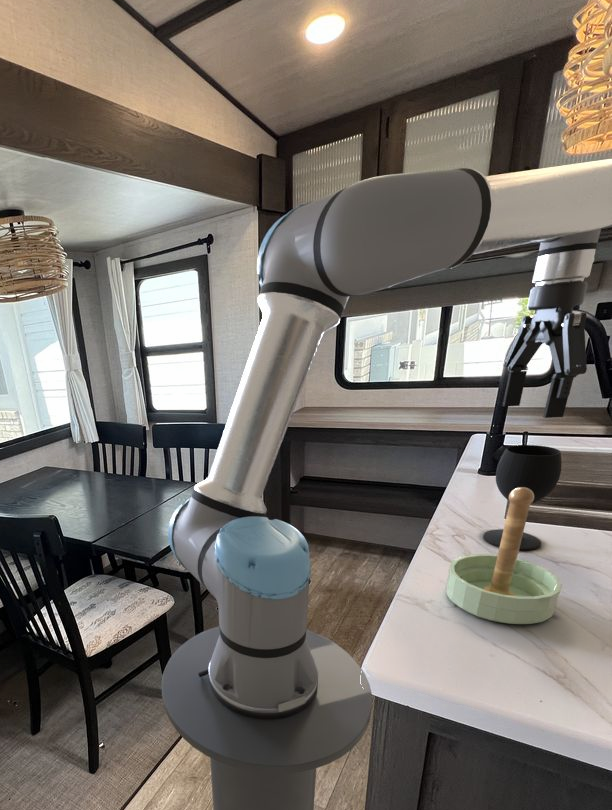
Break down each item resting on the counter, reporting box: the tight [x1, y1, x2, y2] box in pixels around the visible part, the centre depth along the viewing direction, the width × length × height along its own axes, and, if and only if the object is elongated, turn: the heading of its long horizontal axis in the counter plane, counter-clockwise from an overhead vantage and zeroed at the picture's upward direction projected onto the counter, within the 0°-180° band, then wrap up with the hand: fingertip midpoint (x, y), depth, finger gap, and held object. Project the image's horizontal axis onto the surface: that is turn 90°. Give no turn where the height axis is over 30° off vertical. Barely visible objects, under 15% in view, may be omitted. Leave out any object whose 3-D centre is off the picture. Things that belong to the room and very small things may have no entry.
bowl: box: [445, 553, 563, 625], centre depth 80 cm, size 15×15×6 cm
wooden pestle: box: [483, 487, 534, 596], centre depth 77 cm, size 4×4×20 cm
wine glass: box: [482, 444, 563, 552], centre depth 97 cm, size 10×10×20 cm
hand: (530, 411), depth 87 cm, fingers open, 13 cm apart
